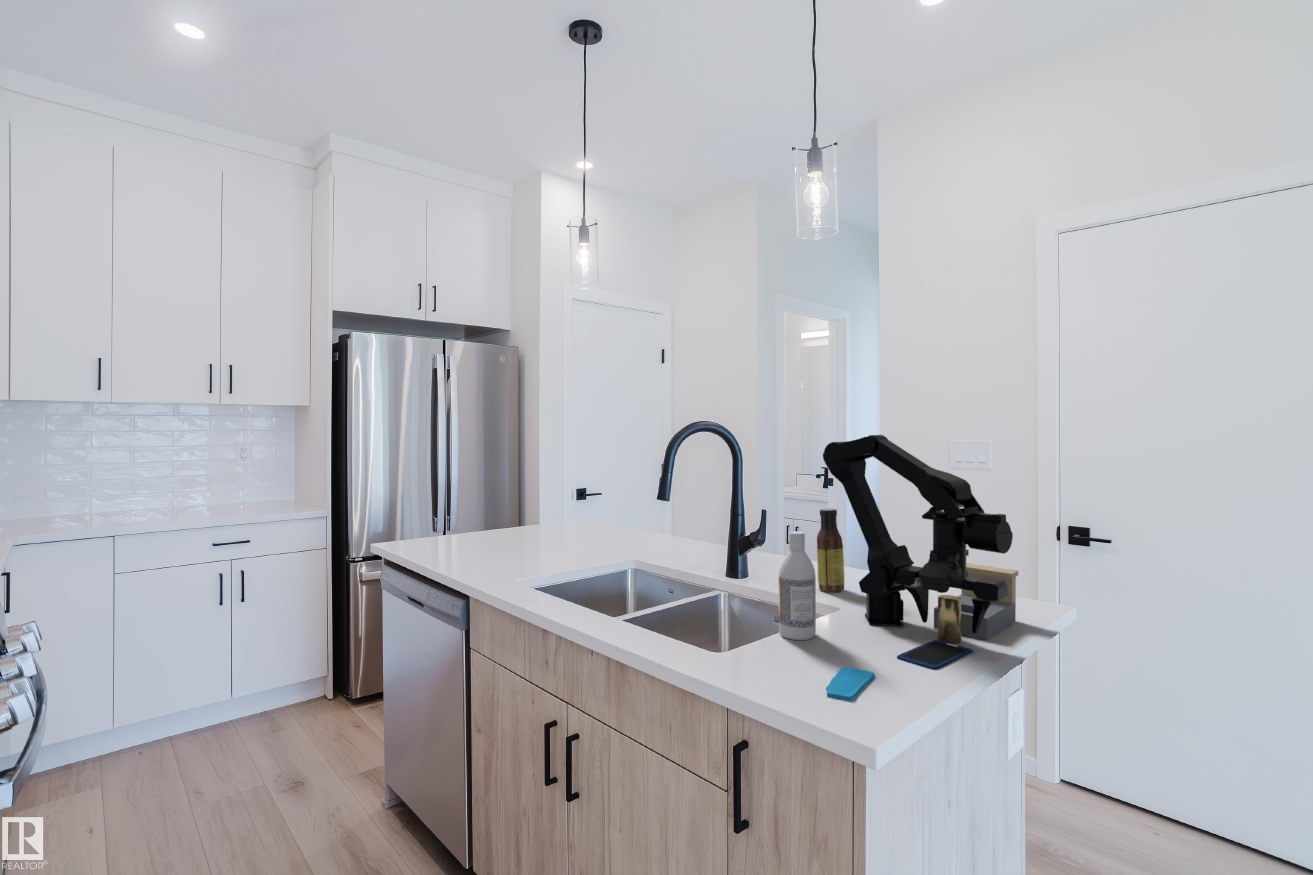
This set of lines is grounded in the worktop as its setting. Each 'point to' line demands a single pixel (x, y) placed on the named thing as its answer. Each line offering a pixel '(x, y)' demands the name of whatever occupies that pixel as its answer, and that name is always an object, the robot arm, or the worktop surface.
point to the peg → (949, 619)
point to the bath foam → (797, 591)
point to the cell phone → (934, 654)
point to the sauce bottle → (830, 553)
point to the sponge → (848, 683)
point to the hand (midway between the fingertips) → (949, 627)
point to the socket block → (998, 611)
